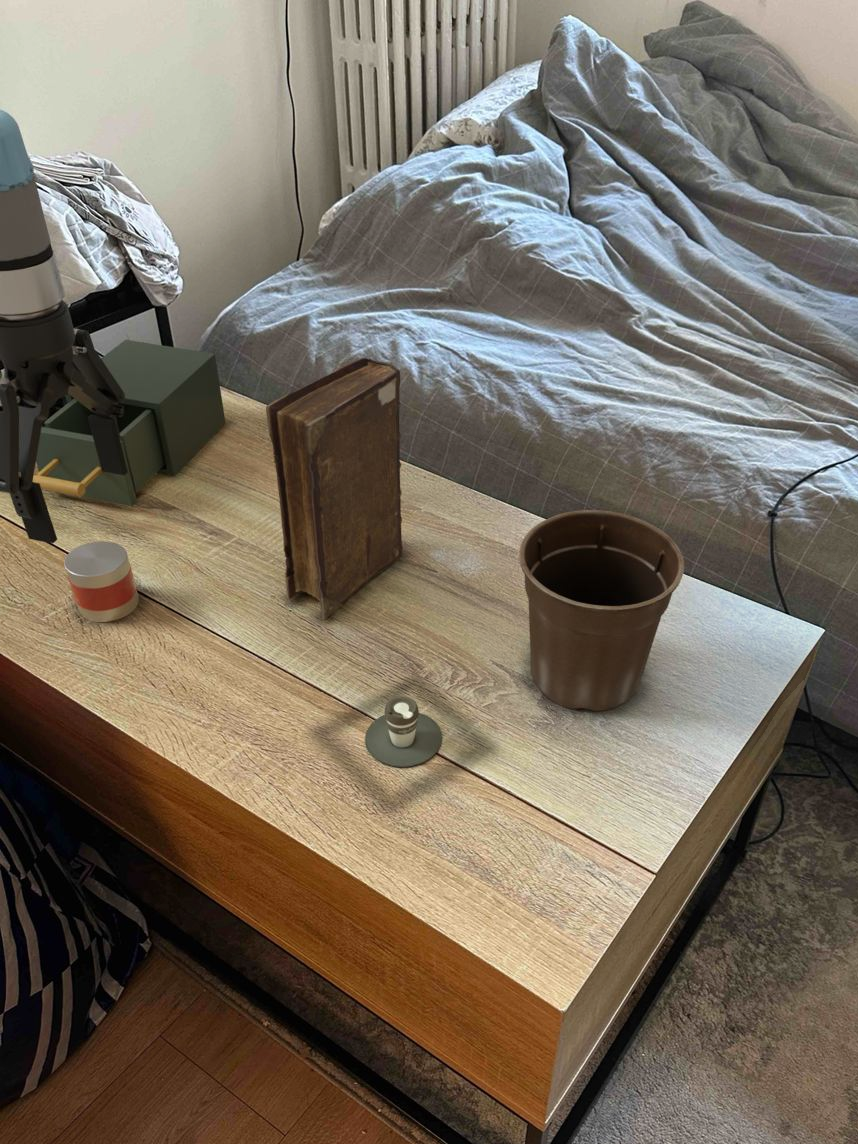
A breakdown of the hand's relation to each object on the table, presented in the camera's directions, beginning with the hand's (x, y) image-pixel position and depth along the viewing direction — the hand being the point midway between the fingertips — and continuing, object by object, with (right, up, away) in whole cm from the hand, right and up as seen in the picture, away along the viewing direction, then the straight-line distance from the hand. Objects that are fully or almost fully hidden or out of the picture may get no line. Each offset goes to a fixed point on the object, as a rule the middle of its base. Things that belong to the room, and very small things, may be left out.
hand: (80, 504), depth 102 cm
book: (+27, -7, +15) cm, 31 cm away
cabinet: (-5, +15, +36) cm, 40 cm away
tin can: (-1, -10, +9) cm, 14 cm away
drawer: (-8, +7, +26) cm, 29 cm away
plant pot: (+54, -18, +4) cm, 57 cm away
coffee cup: (+34, -25, -4) cm, 43 cm away
